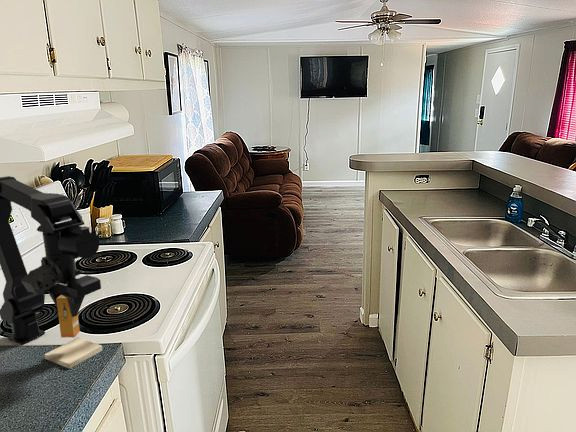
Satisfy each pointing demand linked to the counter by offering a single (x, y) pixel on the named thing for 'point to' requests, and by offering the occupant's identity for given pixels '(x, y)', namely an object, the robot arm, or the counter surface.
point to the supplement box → (66, 318)
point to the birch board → (73, 352)
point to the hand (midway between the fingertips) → (68, 314)
